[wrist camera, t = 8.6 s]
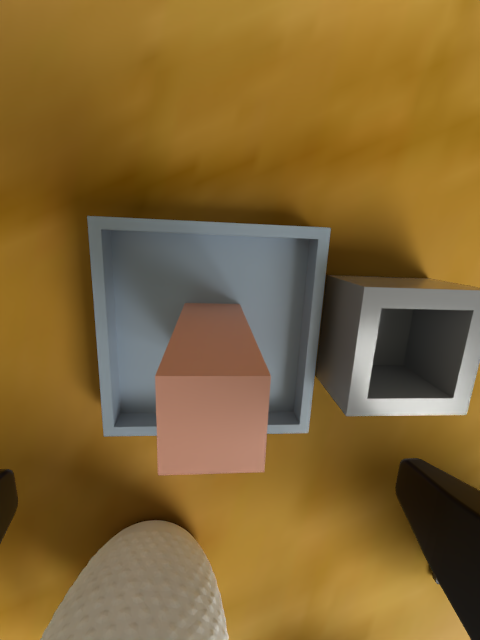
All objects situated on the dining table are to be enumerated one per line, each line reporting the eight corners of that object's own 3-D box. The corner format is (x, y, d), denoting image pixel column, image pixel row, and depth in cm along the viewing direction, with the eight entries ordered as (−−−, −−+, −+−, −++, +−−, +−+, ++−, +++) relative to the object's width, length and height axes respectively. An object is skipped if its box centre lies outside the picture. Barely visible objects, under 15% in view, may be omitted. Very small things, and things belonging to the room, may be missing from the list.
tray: (315, 229, 19) (330, 227, 16) (297, 411, 22) (308, 433, 19) (104, 218, 18) (87, 215, 15) (116, 413, 21) (103, 436, 18)
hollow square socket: (429, 278, 20) (497, 291, 15) (410, 375, 22) (466, 414, 17) (326, 274, 20) (364, 286, 15) (315, 375, 21) (346, 416, 16)
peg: (239, 304, 18) (270, 376, 9) (237, 354, 19) (264, 471, 10) (184, 302, 18) (154, 376, 9) (185, 354, 19) (158, 475, 9)
